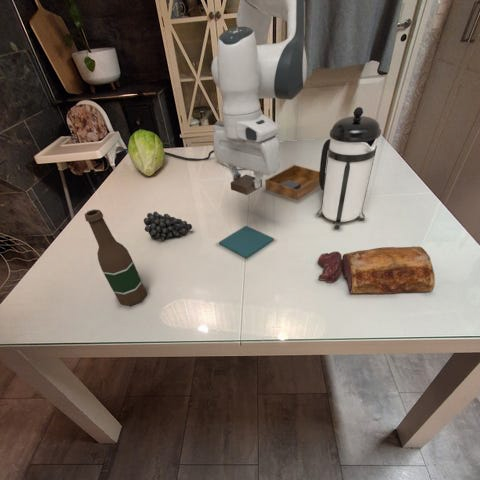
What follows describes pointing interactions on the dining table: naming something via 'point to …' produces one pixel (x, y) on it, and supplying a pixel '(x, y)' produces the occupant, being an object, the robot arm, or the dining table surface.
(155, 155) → the lettuce
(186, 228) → the fruit
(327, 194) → the coffee press
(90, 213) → the beer bottle
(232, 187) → the walnut coaster
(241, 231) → the mat
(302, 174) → the wooden tray
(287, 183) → the slate coaster
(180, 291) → the dining table surface
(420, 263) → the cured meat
